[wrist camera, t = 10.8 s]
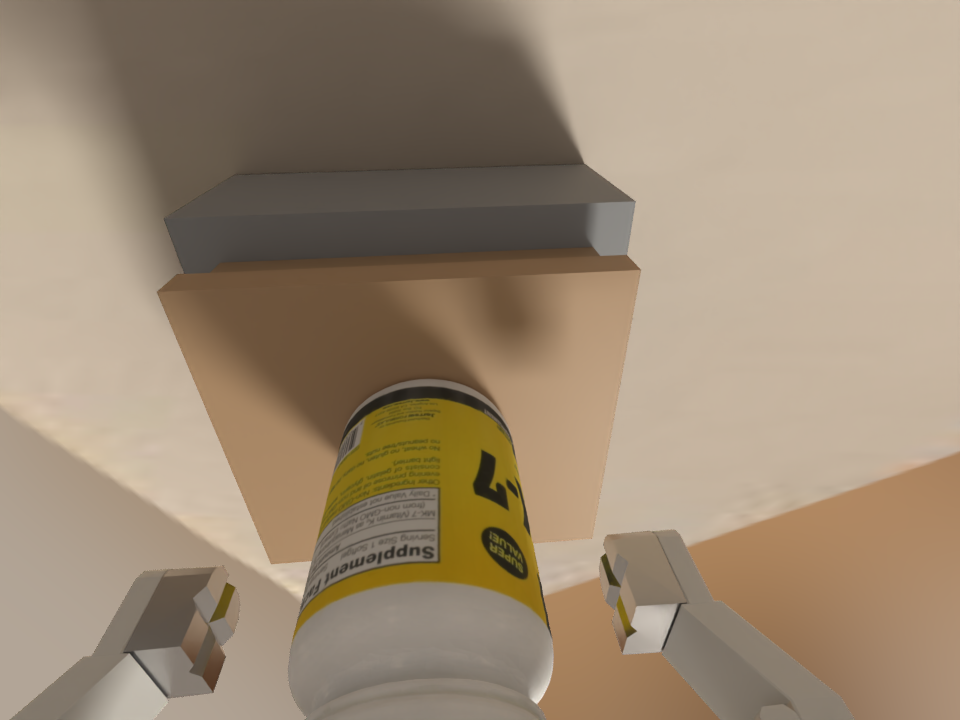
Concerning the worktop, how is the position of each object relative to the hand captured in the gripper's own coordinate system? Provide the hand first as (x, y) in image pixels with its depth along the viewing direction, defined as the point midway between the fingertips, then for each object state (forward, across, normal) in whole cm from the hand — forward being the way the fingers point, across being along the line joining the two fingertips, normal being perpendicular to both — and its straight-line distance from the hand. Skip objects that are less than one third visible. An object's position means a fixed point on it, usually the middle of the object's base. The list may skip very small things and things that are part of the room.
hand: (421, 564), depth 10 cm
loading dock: (+11, 0, 0) cm, 11 cm away
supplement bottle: (+4, 0, 0) cm, 4 cm away
